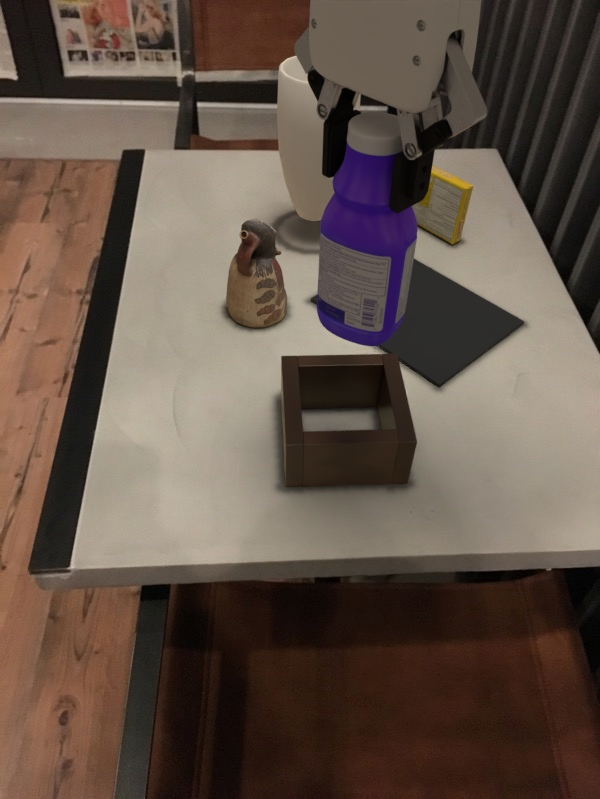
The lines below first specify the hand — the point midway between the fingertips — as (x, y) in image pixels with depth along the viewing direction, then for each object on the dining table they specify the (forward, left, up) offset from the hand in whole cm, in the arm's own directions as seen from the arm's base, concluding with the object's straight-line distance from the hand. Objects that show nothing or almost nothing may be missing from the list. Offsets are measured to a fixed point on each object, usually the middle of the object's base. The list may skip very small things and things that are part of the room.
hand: (372, 185), depth 48 cm
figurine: (+21, -7, -28) cm, 36 cm away
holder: (0, 0, -28) cm, 28 cm away
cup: (+29, -24, -28) cm, 47 cm away
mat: (+8, -21, -28) cm, 35 cm away
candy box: (+22, -37, -28) cm, 51 cm away
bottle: (0, 0, -13) cm, 13 cm away
